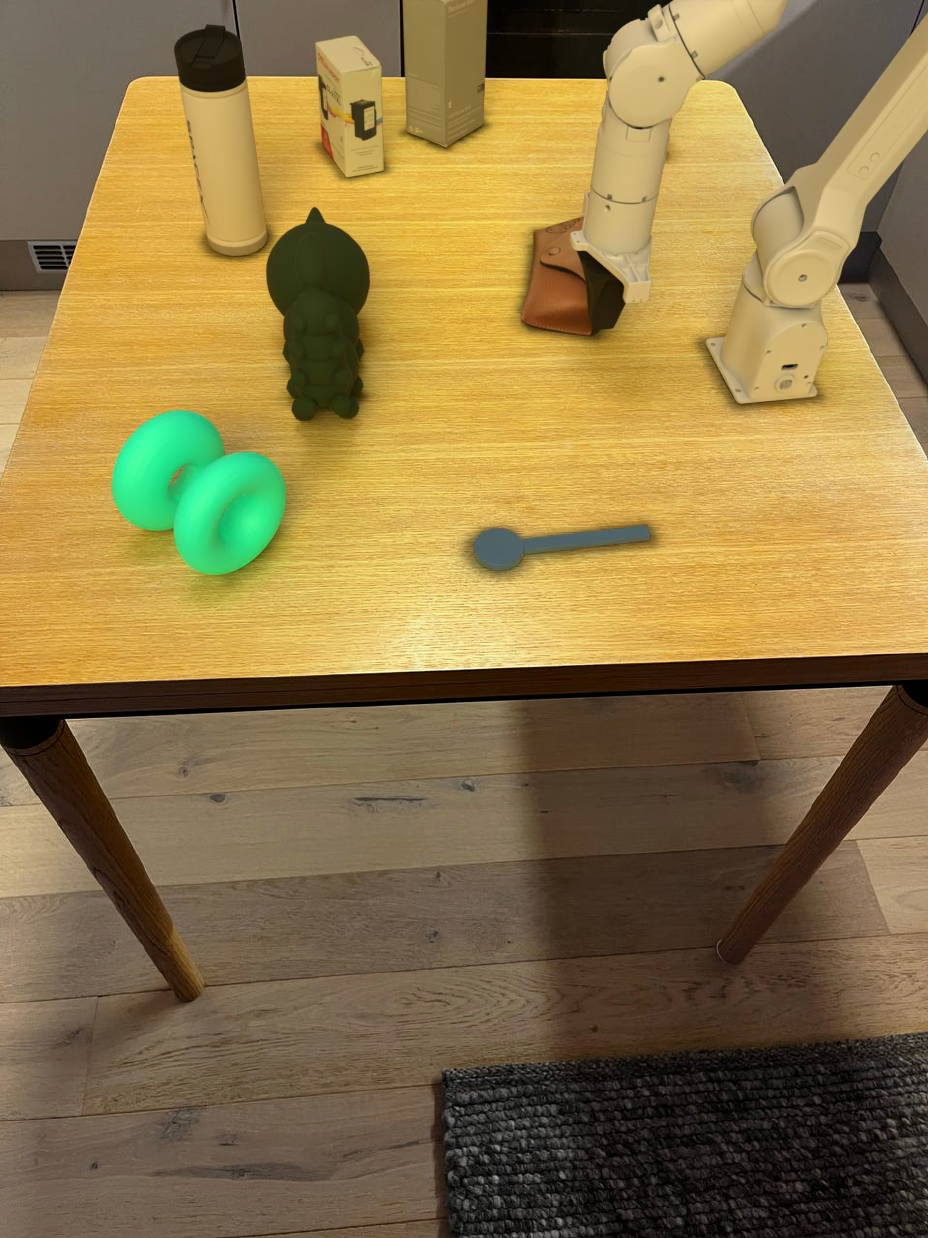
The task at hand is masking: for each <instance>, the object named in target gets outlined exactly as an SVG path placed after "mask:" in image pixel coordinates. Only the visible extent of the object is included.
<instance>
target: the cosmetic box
mask: <svg viewBox="0 0 928 1238" xmlns="http://www.w3.org/2000/svg"><path fill="white" fill-rule="evenodd" d="M402 19H403V21H402V22H403V25H402V26H403V53H404V91H405V93H404V94H405V123H406V124H405V125H406V127H405V129H406V132H408V133H410V134H411V135H415V136H417V137H420V138H423V139H425V140H428V141H430V142H432V143H435V144H437V145H439V146H442V147H444V148H448V147H450V146H451V145H453V144H454V143H455V142H457V141H458V140H461V139H462V138H464V137H465V136H467V135H469V134H470V133H472V132H474V131H475V130H477V129H478V128H480V127H483V125H484V123H485V96H486V95H485V93H486V64H487V63H486V61H487V60H486V59H487V58H486V57H487V30H488V29H487V26H488V25H487V24H488V0H402Z"/></svg>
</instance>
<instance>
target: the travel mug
mask: <svg viewBox="0 0 928 1238" xmlns="http://www.w3.org/2000/svg"><path fill="white" fill-rule="evenodd" d="M173 52H174V53H173V54H174V59H175V64H176V69H177V76H178V85H179V88H180V95H181V101H182V107H183V111H184V118H185V123H186V128H187V135H188V139H189V146H190V150H191V151H190V152H191V157H192V162H193V167H194V173H195V178H196V184H197V189H198V194H199V200H200V205H201V212H202V217H203V222H204V228H205V233H206V239H207V243H208V246H209V247H210V248H211V249H212V250H213V251H215V252H216V253H218V254H221V255H225V256H229V257H243V256H248V255H251V254H254V253H256V252H258V251H259V250H261V249H262V248H263V247H265V245H266V244H267V241H268V231H267V224H266V217H265V216H266V215H265V209H264V208H265V207H264V201H263V193H262V184H261V176H260V169H259V162H258V154H257V146H256V138H255V130H254V123H253V116H252V115H253V114H252V107H251V100H250V92H249V84H248V76H247V73H246V67H245V59H244V58H245V57H244V51H243V42H242V41H241V39H240V37H238V36H237V34H235V33H234V32H231V31H229V30H226V26H225V25H220V24H209V23H208V24H205V26H204V28H200V29H195V30H191V31H189V32H187V33H185V34H183V35H182V36H180V37H179V38H178V39H177V41H176V42H175V43H174V47H173Z"/></svg>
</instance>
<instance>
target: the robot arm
mask: <svg viewBox="0 0 928 1238" xmlns="http://www.w3.org/2000/svg"><path fill="white" fill-rule="evenodd" d="M788 2H789V0H672V1H670V2H669V3H668V4H666V5H664V6H663V7H661V4H656V5H655V6H654V7H652V8H651V9H649V11H648V12H647V17H645V19H644V20H641V18H637V19H634V20H632V21H629V22H628V23H626V24H625V25H623V26H622V27H621V28H620V29H618V31H617V32H616V33H615V34H614V35H613V37H612V38H611V40H610V41H611V42H610V44H608V46H607V49H606V50H604V51H603V54H602V62H603V63H602V64H603V69H604V74H605V77H606V85H607V87H606V88H607V89H606V90H605V91H606V92H605V99H604V102H603V105H602V107H601V121H600V123H599V125H598V128H597V135H596V141H595V150H594V155H593V164H592V171H591V177H590V186H589V191H584V194H583V199H582V200H583V201H582V209H581V213H582V216H584V220H583V226H582V230H580V231H574V232H571V233H570V243H571V245H572V247H573V249H574V250H577V253H578V256H579V259H580V261H581V265H582V268H583V272H584V277H585V283H586V292H587V307H588V317H589V322H590V324H591V327H592V329H593V330H600V331H602V330H613V329H614V328H615V326H616V325H617V322H618V320H619V319H620V316H621V314H622V312H623V310H624V308H625V306H626V304H640V303H648V302H649V299H650V296H651V295H650V294H651V289H652V285H653V281H652V278H651V275H650V264H651V263H650V262H651V253H652V244H653V237H652V229H653V226H654V225H653V223H654V219H655V215H656V210H657V204H658V199H659V195H660V188H661V185H662V179H663V174H664V170H665V169H664V168H665V163H666V158H667V153H668V148H669V144H670V136H671V135H670V130H669V128H670V129H671V126H670V123H671V124H672V122H671V118H672V119H673V118H674V117H675V116H676V115H677V114H678V113H679V111H680V110H681V109H682V107H683V105H684V104H685V101H686V99H687V97H688V93H689V91H690V90H691V88H692V87H693V86H694V85H696V84H697V83H700V82H701V81H702V80H704V79H705V78H706V77H708V76H709V75H711V74H713V73H714V72H716V71H717V70H718V69H720V68H722V67H723V66H724V65H727V63H729V62H730V61H732V60H734V58H736V57H737V56H739V55H741V54H742V53H744V52H745V51H746V50H748V49H749V48H750V47H752V46H754V45H755V44H757V43H758V42H759V41H761V40H762V39H764V38H765V37H767V36H768V35H769V34H771V33H773V32H774V31H775V30H777V28H778V27H779V25H780V23H781V19H782V16H783V14H784V11H785V9H786V6H787V4H788ZM927 131H928V12H927V13H926V14H925V15H924V17H923V18H922V20H921V21H920V23H919V24H918V25H917V26H916V28H915V29H914V30H913V32H912V33H911V34H910V36H909V37H908V38H907V40H906V41H905V42H904V44H903V45H902V46H901V48H900V50H898V52H897V53H896V55H895V56H894V57H893V59H892V60H891V62H890V63H889V64H888V65H887V67H886V68H885V69H884V71H883V72H882V73H881V75H880V77H879V78H878V79H877V80H876V82H875V83H874V84H873V86H872V87H871V89H870V90H869V92H868V93H867V94H866V96H865V97H864V98H863V99H862V101H861V102H860V103H859V105H858V106H857V107H856V108H855V110H854V111H853V113H852V114H851V115H850V117H849V118H848V119H847V121H846V122H845V124H844V125H843V126H842V128H841V129H840V131H839V132H838V134H837V135H836V136H835V137H834V139H833V140H832V141H831V143H830V144H828V147H827V148H826V149H825V151H824V152H823V154H822V155H821V156H820V158H818V160H817V161H816V162H815V163H813V164H809V165H806V166H802V167H800V168H797V169H796V170H795V171H793V174H792V175H791V176H790V178H789V179H788V180H787V181H786V182H785V184H783V185H782V186H781V187H780V188H778V189H777V190H775V191H774V192H772V193H770V194H769V195H767V196H766V197H765V198H764V199H763V200H762V201H761V202H759V203H758V205H757V207H756V208H755V209H754V212H753V213H752V217H751V219H750V234H751V237H752V240H753V242H754V244H755V251H754V253H753V255H752V257H751V258H750V259H749V261H748V263H747V264H746V265H745V267H744V268H743V273H742V278H741V280H740V284H739V287H738V290H737V295H736V297H735V301H734V305H733V309H732V311H731V314H730V318H729V322H728V326H727V329H726V333H725V336H719V337H709V338H706V339H705V344H704V345H705V346H706V348H707V350H708V351H709V353H710V356H711V357H712V359H713V361H714V363H715V365H716V367H717V369H718V371H719V372H720V374H721V375H722V378H723V380H724V381H725V383H726V385H727V387H728V389H729V391H730V393H731V394H732V397H733V399H734V400H735V402H736V403H738V404H742V405H743V404H753V403H762V402H773V401H782V400H783V401H784V400H794V399H795V400H796V399H804V398H805V399H806V398H814V397H816V396H817V395H818V389H817V387H816V385H815V384H814V381H815V378H816V375H817V373H818V370H819V368H820V365H821V362H822V360H823V357H824V355H825V353H826V349H827V347H828V343H829V335H828V330H827V329H826V326H825V324H824V321H823V317H822V300H823V299H825V298H826V297H827V296H828V295H829V294H830V293H831V292H833V290H834V289H835V287H836V286H837V284H838V282H839V281H840V278H841V274H842V270H843V267H844V264H845V262H846V260H847V258H848V257H849V256H850V254H851V253H852V251H853V250H854V249H855V248H856V247H857V244H858V242H859V238H860V233H861V229H862V225H863V222H864V218H865V217H864V216H865V212H866V209H867V206H868V204H869V203H870V202H871V200H873V198H874V197H875V196H876V195H877V193H878V192H879V191H880V189H881V188H882V187H883V186H884V185H885V183H886V182H887V181H888V179H889V178H890V177H891V176H892V175H893V174H894V172H895V171H896V169H898V167H899V166H900V165H901V164H902V162H903V161H904V160H905V158H906V157H907V156H909V153H910V152H911V151H912V150H913V149H914V147H915V146H916V145H917V143H919V141H920V140H921V138H922V137H923V136H924V135H925V134H926V132H927Z"/></svg>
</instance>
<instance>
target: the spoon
mask: <svg viewBox="0 0 928 1238" xmlns="http://www.w3.org/2000/svg"><path fill="white" fill-rule="evenodd" d="M650 540H651V532H650V529H649V527H648V525H647V524H645V525H637V526H628V527H618V528H608V529H599V530H591V531H581V532H573V533H564V534H557V535H548V536H547V535H546V536H538V537H529V538H521V537H520V536H519V535H518V534H517V533H515V532H513V531H511V530H510V529H506V528H499V527H496V528H489V529H486V530H484V531H482V532H480V534H478V535H477V537H476V538H475V540H474V543H473V556H474V558H475V560H476V561H477V563H478V564H480V565H481V566H482V567H484V568H486V569H488V570H492V571H501V572H502V571H508V570H512V569H513V568H515V567H516V566H518V565H519V564H520V563H521V561H522V560H523V558H524V555H533V554H534V555H535V554H542V553H552V552H559V551H567V550H577V549H586V548H594V547H595V548H596V547H603V546H612V545H620V544H629V543H638V542H646V541H647V542H648V541H650Z"/></svg>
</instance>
